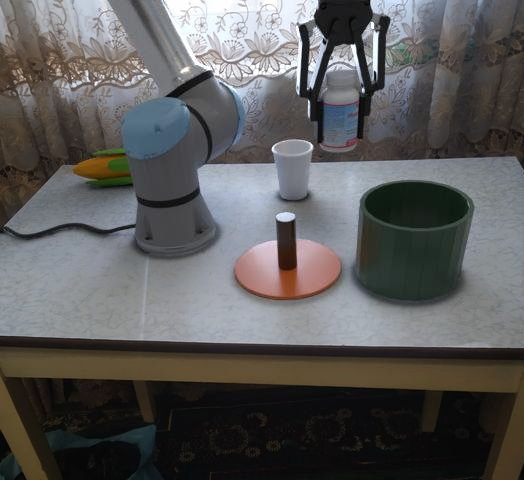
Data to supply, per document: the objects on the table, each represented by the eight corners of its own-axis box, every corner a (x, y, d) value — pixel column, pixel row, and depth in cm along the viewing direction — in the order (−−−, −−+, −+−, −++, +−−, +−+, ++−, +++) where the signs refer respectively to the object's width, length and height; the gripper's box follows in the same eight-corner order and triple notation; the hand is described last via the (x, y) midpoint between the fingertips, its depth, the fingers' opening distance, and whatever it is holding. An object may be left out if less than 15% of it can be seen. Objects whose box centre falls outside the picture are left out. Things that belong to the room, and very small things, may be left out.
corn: (153, 151, 114) (61, 158, 114) (159, 185, 119) (71, 192, 119) (157, 141, 120) (70, 148, 120) (163, 174, 125) (79, 180, 125)
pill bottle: (355, 154, 85) (359, 79, 78) (317, 153, 86) (318, 79, 79) (357, 140, 89) (362, 67, 82) (321, 139, 91) (323, 68, 83)
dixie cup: (279, 205, 108) (277, 157, 101) (270, 188, 114) (267, 142, 108) (318, 199, 109) (318, 151, 102) (307, 183, 115) (307, 136, 108)
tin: (370, 309, 80) (377, 237, 72) (344, 253, 93) (347, 186, 84) (476, 296, 81) (494, 223, 73) (436, 242, 93) (448, 174, 85)
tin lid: (240, 309, 82) (234, 253, 76) (231, 250, 96) (225, 198, 89) (352, 295, 83) (356, 238, 77) (328, 239, 97) (329, 186, 90)
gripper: (280, -24, 68) (284, 153, 84) (423, -36, 69) (401, 140, 85) (272, -31, 74) (277, 136, 89) (404, -42, 75) (387, 124, 90)
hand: (338, 138), depth 87 cm, fingers closed on pill bottle, 6 cm apart
